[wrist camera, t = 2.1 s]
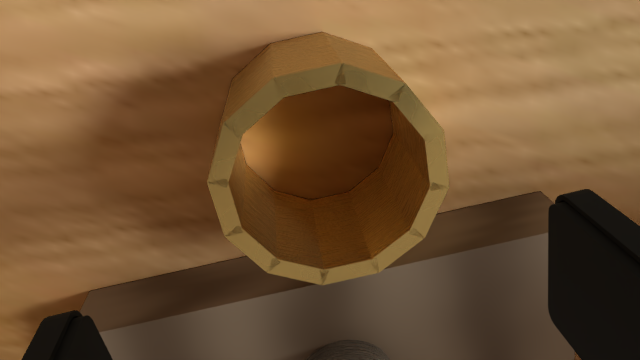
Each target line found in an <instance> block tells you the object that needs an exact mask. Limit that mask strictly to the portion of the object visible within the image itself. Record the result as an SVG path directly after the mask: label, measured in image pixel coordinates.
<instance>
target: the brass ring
mask: <svg viewBox="0 0 640 360" xmlns="http://www.w3.org/2000/svg"><path fill="white" fill-rule="evenodd" d="M337 85H342V86H345V87H349V88H352V89H355V90H358V91H361V92H364V93H368V94H371V95H374V96H377V97H380V98H383V99H387V100H389V103H390V110H391V117H392V124H393V131H394V132H393V135H392V137H391V139H390V142H389V144H388V147H387V149H386V151H385V154H384V156H383V159H382V161H381V163H380V166H379V168H378V169H376V170H375V171H374V172H373V173H371V174H370V175H369V176H368V177H367V178H365V179H364V180H363V181H362V182H360V183H359V184H358V185H357V186H355V187H354V188H353V189H352V190H351V191H349V192H346V193H341V194H337V195H332V196H328V197H323V198H319V199H314V200H309V199H305V198H301V197H297V196H293V195H289V194H286V193H282V192H278V191H274V190H273V189H272V188H271V187H270V186H269V185H268V184H267V183H266V182H265V181H263V180H262V179H261V178H260V177H259V176H258V175H257V174H256V173H255V172H254V171H253V170H252V169H251V168H250V167H249V166H247V165H246V161H245V158H244V154H243V151H242V147H241V144H240V141H241V138H242V135H243V134H244V133H245V132H246V131H247V130H248V129H249V128H250V127H251V126H252V125H254V124H255V123H256V122H257V121H258V120H259V119H260V118H261V117H262V116H264V115H265V114H266V113H267V112H268V111H269V110H270V109H271V108H272V107H274V106H275V105H276V104H277V103H278V102H279V101H280V100H281V99H283V98H284V97H287V96H292V95H296V94H301V93H305V92H310V91H314V90H319V89H324V88H328V87H333V86H337ZM207 184H208V188H209V191H210V194H211V197H212V200H213V203H214V206H215V209H216V212H217V215H218V218H219V221H220V224H221V227H222V230H223V234H224V237H225V238H227V239H228V240H229V241H230V242H231V243H232V244H234V245H235V246H236V247H237V248H238V249H240V250H241V251H242V252H243V253H244V254H245V255H247V256H248V257H249V258H250V259H251V260H253V261H254V262H255V263H256V264H257V265H258V266H260V267H261V268H262V269H263V270H264V271H266V272H267V273H269V274H274V275H279V276H283V277H288V278H292V279H297V280H301V281H306V282H310V283H315V284H319V285H326V284H331V283H335V282H340V281H344V280H349V279H353V278H358V277H362V276H367V275H371V274H376V273H379V272H381V271H382V270H383V269H385V268H386V267H387V266H389V265H390V264H391V263H393V262H394V261H395V260H397V259H398V258H399V257H401V256H402V255H403V254H404V253H406V252H407V251H408V250H410V249H411V248H412V247H414V246H415V245H416V244H418V243H419V242H420V241H422V240H423V239H424V238H425V237H426V234H427V232H428V230H429V228H430V226H431V224H432V222H433V220H434V218H435V216H436V214H437V212H438V210H439V207H440V205H441V203H442V201H443V199H444V197H445V195H446V193H447V191H448V189H449V179H448V168H447V157H446V147H445V136H444V130H443V129H442V127H441V126H440V125H439V124H438V122H437V121H436V120H435V119H434V118H433V116H432V115H431V114H430V113H429V111H428V110H427V109H426V108H425V107H424V105H423V104H422V103H421V102H420V100H419V99H418V98H417V97H416V96H415V94H414V93H413V92H412V91H411V89H410V88H409V87H408V86H407V84H406V83H405V82H404V81H403V80H402V79H401V78H400V77H399V76H398V75H397V74H396V73H395V72H394V71H393V70H392V69H391V68H390V67H389V66H388V65H387V63H386V62H385V61H384V60H383V59H382V58H381V57H380V56H379V55H378V54H377V53H376V52H375V51H374V50H373V49H372V48H369V47H366V46H363V45H360V44H357V43H354V42H351V41H348V40H345V39H342V38H339V37H336V36H333V35H330V34H327V33H324V32H320V33H316V34H311V35H307V36H302V37H298V38H293V39H288V40H284V41H279V42H275V43H271V44H269V45H268V46H267V47H266V48H265V49H264V50H263V51H262V52H261V53H260V54H259V55H258V56H257V57H256V58H254V59H253V60H252V61H251V62H250V63H249V64H248V65H247V66H246V67H245V68H244V69H243V70H242V71H241V72H239V73H238V74H237V75H236V76H235V77H234V78H233V79H232V83H231V86H230V90H229V93H228V97H227V101H226V104H225V108H224V112H223V115H222V119H221V122H220V126H219V130H218V135H217V139H216V144H215V148H214V153H213V157H212V162H211V166H210V171H209V175H208V180H207Z"/></svg>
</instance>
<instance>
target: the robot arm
mask: <svg viewBox="0 0 640 360" xmlns="http://www.w3.org/2000/svg"><path fill="white" fill-rule="evenodd" d="M548 311H549V315H550V317H551V320H552V322H553V324H554V325H555V326H556V328H557V329H558V330H559V332H560V333H561V334H562V335H563V337H564V338H565V339H566V340H567V342H568V343H569V344H570V346H571V347H572V348H573V349H574V351H575V352H576V353H577V354H578V356H579V357H580V358H581V359H582V360H640V226H639V225H637V224H636V223H634V222H633V221H632V220H630V219H629V218H628V217H626V216H625V215H624V214H622V213H621V212H620V211H618V210H617V209H616V208H614V207H613V206H612V205H610V204H609V203H608V202H606V201H605V200H604V199H602V198H601V197H600V196H598V195H597V194H596V193H594V192H593V191H591V190H589V189H584V190H580V191H576V192H571V193H567V194H563V195H559V196H558V197H557V199H556V201H555V204H552V205H551V206H550V207H549V211H548ZM22 360H113V359H112V357H111V355H110V353H109V351H108V349H107V347H106V345H105V343H104V341H103V339H102V337H101V335H100V333H99V331H98V329H97V327H96V325H95V323H94V321H93V320H92V318H91V317H90V316H88V315H85V316H82V314H81V313H80V312H79V311H75V310H74V311H70V312H66V313H62V314H58V315H53V316H49V317H46V318H44V320H43V321H42V322H41V324H40V326H39V328H38V330H37V332H36V334H35V335H34V337H33V339H32V341H31V343H30V345H29V347H28V349H27V351H26V353H25V354H24V356H23V358H22Z"/></svg>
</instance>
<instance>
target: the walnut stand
mask: <svg viewBox="0 0 640 360" xmlns="http://www.w3.org/2000/svg"><path fill="white" fill-rule="evenodd" d="M552 204H554V203H553V202H552V201H551V200H550V199H549V198H548V197H547V196H546V195H544V194H543V193H542V192H541V191H539V192H535V193H530V194H526V195H521V196H517V197H512V198H508V199H503V200H499V201H494V202H490V203H485V204H481V205H476V206H472V207H467V208H463V209H458V210H454V211H449V212H444V213H440V214H436V216H435V218H434V220H433V222H432V224H431V226H430V228H429V230H428V232H427V234H426V237H425V238H424V239H423V240H422V241H420V242H419V243H418V244H416V245H415V246H414V247H412V248H411V249H410V250H408V251H407V252H406V253H404V254H403V255H402V256H401V257H399V258H398V259H397V260H395V261H394V262H393V263H391V264H390V265H389V266H387V267H386V268H385V269H383V270H382V271H381V272H379V273H376V274H371V275H367V276H362V277H358V278H353V279H349V280H344V281H340V282H335V283H331V284H326V285H319V284H315V283H310V282H306V281H301V280H297V279H292V278H288V277H283V276H279V275H274V274H269V273H267V272H266V271H264V270H263V269H262V268H261V267H260V266H258V265H257V264H256V263H255V262H254V261H253V260H251V259H250V258H249V257H248V256H246V257H241V258H237V259H232V260H228V261H223V262H219V263H214V264H210V265H205V266H201V267H196V268H192V269H187V270H183V271H178V272H174V273H169V274H165V275H160V276H156V277H151V278H147V279H142V280H138V281H133V282H129V283H124V284H120V285H115V286H111V287H106V288H102V289H97V290H93V291H90V292H89V294H88V296H87V298H86V300H85V302H84V304H83V306H82V308H81V310H80V313H81V314H82V316H85V315H88V316H90V317H91V318H92V320H93V321H94V323H95V325H96V327H97V329H98V331H99V333H100V335H101V337H102V339H103V341H104V343H105V345H106V347H107V349H108V351H109V353H110V355H111V357H112V359H113V360H306V359H307V358H308V357H309V356H310V355H311V354H312V353H313V352H315V351H316V350H318V349H319V348H321V347H323V346H325V345H327V344H330V343H333V342H336V341H342V340H360V341H365V342H368V343H371V344H374V345H375V346H377V347H379V348H380V349H381V350H383V351H384V352H385V353H386V355H387V356H388V358H389V360H575V351H574V349H573V348H572V347H571V346H570V344H569V343H568V342H567V340H566V339H565V338H564V337H563V335H562V334H561V333H560V332H559V330H558V329H557V328H556V326H555V325H554V324H553V322H552V320H551V317H550V315H549V311H548V211H549V207H550V206H551V205H552Z"/></svg>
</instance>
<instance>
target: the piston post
mask: <svg viewBox="0 0 640 360" xmlns="http://www.w3.org/2000/svg"><path fill="white" fill-rule="evenodd" d="M306 360H389V358H388V356H387V355H386V353H385V352H384V351H383V350H381V349H380V348H379V347H377V346H375V345H374V344H371V343H368V342H365V341H360V340H342V341H336V342H333V343H330V344H327V345H325V346H323V347H321V348H319V349H318V350H316V351H315V352H313V353H312V354H311V355H310V356H309V357H308V358H307V359H306Z"/></svg>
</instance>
